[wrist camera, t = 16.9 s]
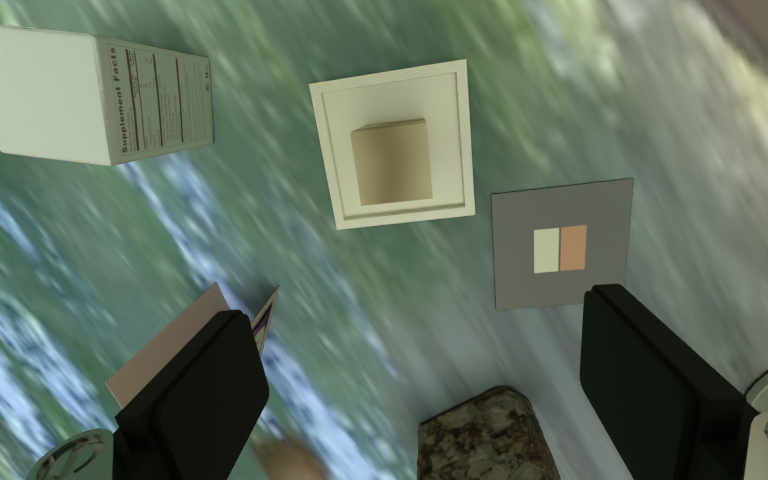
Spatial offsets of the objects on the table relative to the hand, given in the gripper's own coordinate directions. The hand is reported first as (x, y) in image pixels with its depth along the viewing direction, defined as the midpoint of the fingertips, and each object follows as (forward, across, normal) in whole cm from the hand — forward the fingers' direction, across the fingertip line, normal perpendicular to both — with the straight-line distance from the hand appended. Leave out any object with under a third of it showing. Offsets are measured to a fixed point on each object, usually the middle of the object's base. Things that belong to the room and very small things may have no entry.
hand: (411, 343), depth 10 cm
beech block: (+24, +2, -3) cm, 24 cm away
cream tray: (+25, +2, -3) cm, 25 cm away
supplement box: (+25, +21, -10) cm, 34 cm away
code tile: (+25, -12, +8) cm, 29 cm away
